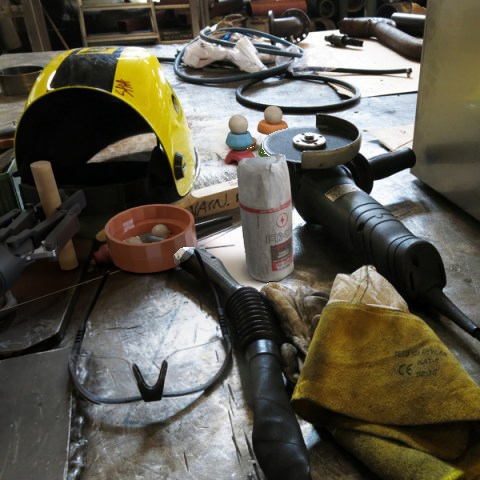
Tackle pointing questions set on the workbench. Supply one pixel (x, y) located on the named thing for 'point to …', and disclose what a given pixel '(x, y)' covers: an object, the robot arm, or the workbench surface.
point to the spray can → (266, 216)
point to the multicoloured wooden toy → (242, 138)
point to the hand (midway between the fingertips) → (72, 197)
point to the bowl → (142, 222)
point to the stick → (52, 206)
